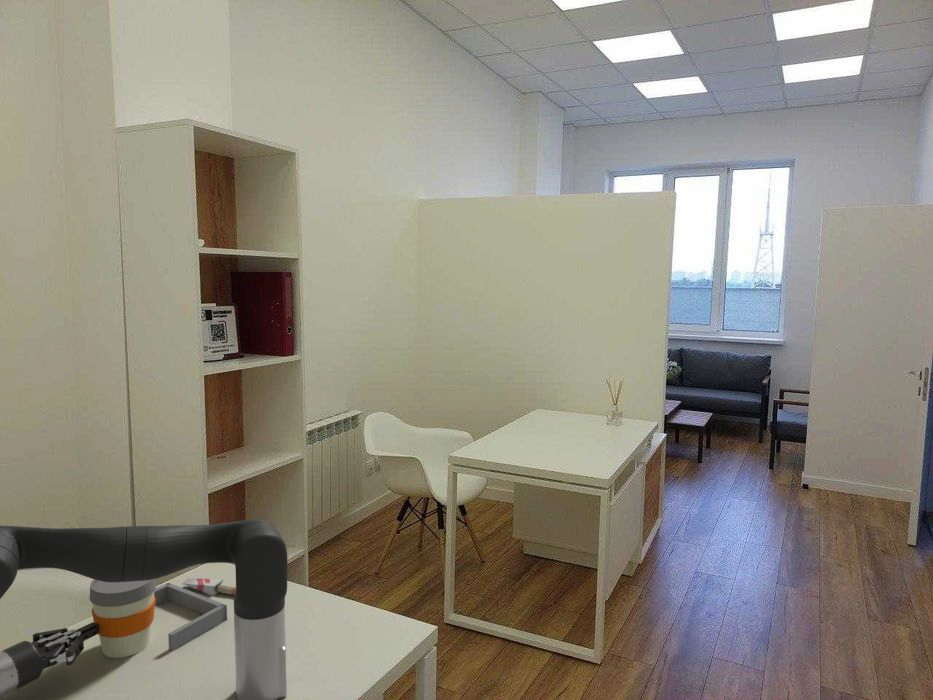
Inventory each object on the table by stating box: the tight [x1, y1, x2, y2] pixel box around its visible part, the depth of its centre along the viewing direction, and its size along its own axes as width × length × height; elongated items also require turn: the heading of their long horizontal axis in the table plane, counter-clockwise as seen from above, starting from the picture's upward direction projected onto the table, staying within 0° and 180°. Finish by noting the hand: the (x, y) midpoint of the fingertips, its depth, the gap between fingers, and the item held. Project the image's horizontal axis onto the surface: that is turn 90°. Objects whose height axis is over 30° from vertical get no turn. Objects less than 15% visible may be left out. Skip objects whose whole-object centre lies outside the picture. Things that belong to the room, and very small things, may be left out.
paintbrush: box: [181, 577, 236, 597], centre depth 166 cm, size 4×3×20 cm
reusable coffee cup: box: [89, 579, 157, 659], centre depth 142 cm, size 13×12×15 cm
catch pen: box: [154, 582, 228, 652], centre depth 152 cm, size 14×20×4 cm
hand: (96, 627), depth 137 cm, fingers closed
